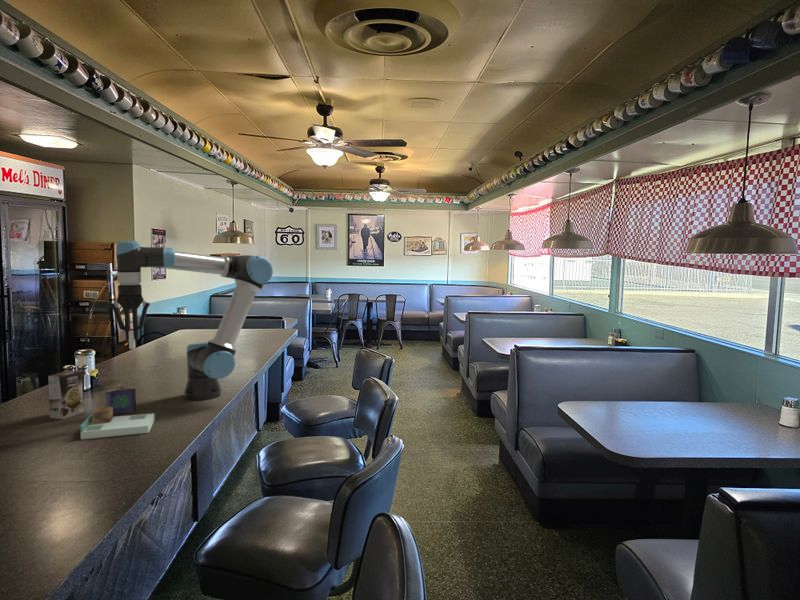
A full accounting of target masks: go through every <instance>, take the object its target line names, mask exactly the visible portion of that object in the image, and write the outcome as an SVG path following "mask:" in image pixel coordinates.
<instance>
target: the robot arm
mask: <svg viewBox="0 0 800 600" xmlns="http://www.w3.org/2000/svg"><path fill="white" fill-rule="evenodd" d="M115 249H116V251H115V252H116V253H115V256H116V267H117V268H116V269H117V270H116V271H117V274H116V275H117V284H118V286H117V298H116V301H114V302H112V303H110V305H109V307H110V308H111V309H112V310H113V312H114V315H115V318H116V321H117V326H118V329H120V330H122V331H125V333H124V334H125V340H127V341H128V347H129V350H134V349H135V348H136V340H138V338H139V330H141V329H143V328H144V325H145V321H146V317H147V312H148V308H150V306H151V302H148V301H146V300H145V299H144V297H143V292H142V291H143V290H142V288H143V287H142V284H141V283H142V272H141V269H142V268H155V269H166V270H175V271H176V270H177V271H185V272H194V273H203V274H213V275H219V276H220V277H221V278H227V279H232V280H234V282H235V288H234V290H233V293H232V296H231V298H230V299H229V302H228V304H227V307H226V310H225V312H224V314H223V316H222V319H221V321H220V323H219V325H218V328H217V330H216V333H215V335H214V337H213V338H212V339H209V340H208V341H206V342H197V343H191V344H188V345H187V347H186V352H185V353H186V364H187V368H186V371H187V381H186V384H185V386H184V389H183V398H184V399H185V400H189V401H202V400H204V401H205V400H210V399H215V398H217V397H220V396H221V395H222V387H221V384H220V382H219V381H220V379H221V380H222V379H224V378H227V377H228V376H230V375H231V374H232V373H233V371H234V369H235V368H236V367H235V366H236V360H235V354H236V353H237V349H236V347H235V344H236V343H237V339H238V337H239V335H240V332H241V330H242V328H243V326H244V323H245V320H246V318H247V315H248V313H249V311H250V308H251V307H252V304H253V301H254V299H255V296H256V294H257V293H259V292H261V291H262V288H263V287H264V284H266V283H268V282H269V281H270V280H271V279H272V276H273V272H274V269H273V264H272V262H271V261H270V260H269V259H268V258H267V257H266V256H264V255H263V256H262V255H258V254H254V255H251V254H250V255H247V254H246V255H244V254H243V255H227V254H224V255H222V256H214V255H209V254H201V253H200V254H199V253H192V252H191V253H190V252H185V251H184V252H183V251H175V249H174V248H173V247H165V246H162V247H161V246H146V247H145V246H141V244H140V242H139V241H132V240H131V241H130V240H127V241H126V240H121V241H120V240H119V241H118V242H117V243H116V248H115ZM119 305H120V306H119ZM140 306H142V311H141V315H140V320H139V319H138V318H139V317H138V309H139V307H140ZM119 307H120V308H121V307H122V309H123V312H124V314H123V315H124V321H123V318H122V315H121V312H120V309H119ZM130 310H131V312H130ZM130 313H132V314H131V315H132V329H131V321H130V318H131V317H130Z"/></svg>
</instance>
